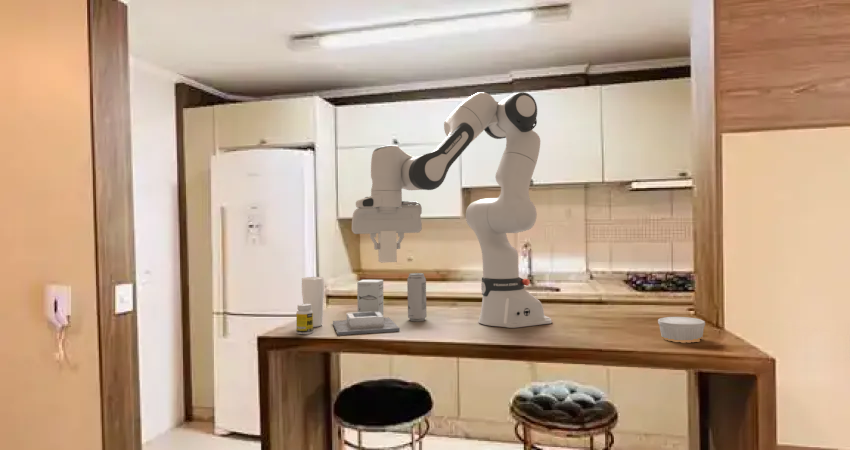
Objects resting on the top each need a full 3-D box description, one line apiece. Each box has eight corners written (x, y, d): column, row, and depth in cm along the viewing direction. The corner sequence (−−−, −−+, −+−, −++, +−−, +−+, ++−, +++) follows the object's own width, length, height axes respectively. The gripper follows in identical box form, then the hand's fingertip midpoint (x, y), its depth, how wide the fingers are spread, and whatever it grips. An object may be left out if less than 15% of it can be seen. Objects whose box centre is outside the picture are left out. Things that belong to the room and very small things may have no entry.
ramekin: (649, 338, 152) (648, 318, 152) (679, 334, 156) (679, 315, 156) (683, 346, 141) (682, 325, 141) (714, 342, 146) (714, 321, 146)
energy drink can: (410, 318, 187) (409, 272, 186) (428, 318, 186) (427, 272, 185) (406, 321, 181) (405, 274, 181) (424, 321, 180) (423, 274, 179)
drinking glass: (314, 323, 181) (313, 276, 181) (329, 325, 177) (328, 277, 177) (298, 326, 176) (297, 278, 175) (313, 328, 172) (312, 279, 171)
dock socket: (388, 320, 183) (388, 308, 183) (399, 331, 166) (399, 317, 165) (332, 324, 179) (332, 311, 179) (337, 335, 161) (337, 321, 161)
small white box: (393, 260, 166) (393, 230, 166) (396, 262, 162) (396, 230, 161) (378, 261, 165) (378, 230, 165) (381, 262, 160) (380, 231, 160)
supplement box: (357, 320, 185) (356, 281, 184) (363, 316, 192) (362, 279, 192) (379, 320, 183) (378, 281, 183) (384, 316, 191) (383, 279, 190)
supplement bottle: (309, 334, 163) (308, 305, 163) (293, 334, 164) (293, 305, 164) (315, 331, 168) (315, 303, 168) (300, 331, 169) (300, 303, 169)
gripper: (418, 201, 169) (419, 247, 169) (350, 201, 164) (351, 249, 164) (424, 200, 162) (424, 248, 163) (353, 201, 157) (353, 250, 158)
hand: (387, 249), depth 163 cm, fingers closed on small white box, 4 cm apart
